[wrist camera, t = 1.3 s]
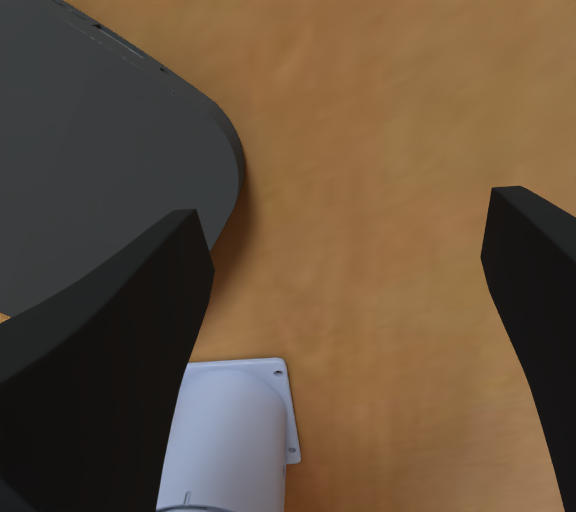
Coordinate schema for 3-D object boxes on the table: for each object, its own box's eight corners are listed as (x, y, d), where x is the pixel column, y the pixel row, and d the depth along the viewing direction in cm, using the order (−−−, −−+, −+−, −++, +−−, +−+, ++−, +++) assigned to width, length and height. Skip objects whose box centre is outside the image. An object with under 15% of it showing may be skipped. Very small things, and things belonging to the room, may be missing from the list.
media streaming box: (148, 340, 26) (130, 377, 24) (-109, 216, 23) (-162, 242, 20) (277, 136, 20) (272, 156, 17) (-51, -79, 17) (-118, -95, 14)
